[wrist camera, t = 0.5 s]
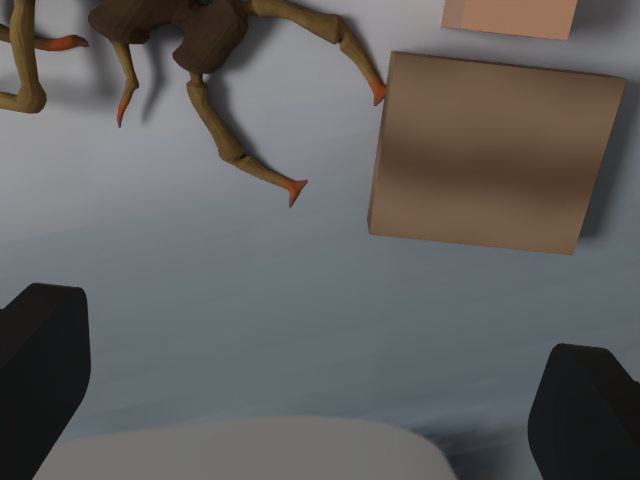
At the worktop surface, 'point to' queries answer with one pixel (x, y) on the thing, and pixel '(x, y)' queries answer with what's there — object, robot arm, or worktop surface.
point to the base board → (489, 152)
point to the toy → (178, 54)
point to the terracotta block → (512, 17)
